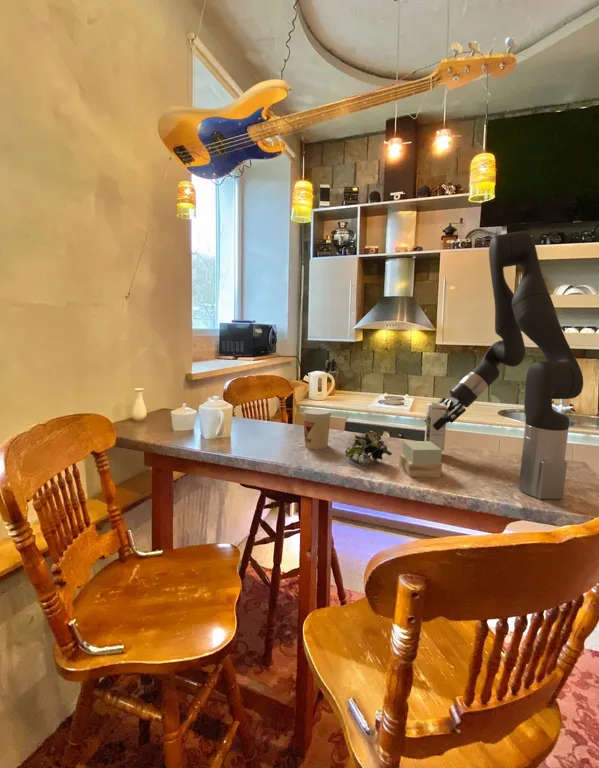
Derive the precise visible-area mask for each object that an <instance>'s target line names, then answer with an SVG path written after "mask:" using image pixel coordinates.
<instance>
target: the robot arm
mask: <svg viewBox="0 0 599 768" xmlns="http://www.w3.org/2000/svg"><path fill="white" fill-rule="evenodd" d="M488 259H489V261H488V262H489V270H490V277H491V285H492V292H493V299H494V310H495V311H494V331H495V334H496V335H497V336H498V337H500V338H501V340H498V341H496V342H494V343H492V345H491V346H490V347H489V348H488V350H487V351H486V352H485V354H484V355H483V357H482V359H481V361H480V363H478V364H477V366H475V368H473V369H472V370H471V371H469V373H468V374H466V375H464V377H462V378H461V380H459V381H458V382H457V383H456V384H455V385H454V386H452V388H450V390H449V394H450V396H449V397H448V398H445V397H442V398H441V399H439V401H438V402H437V403H443V404H445V405H446V406H447V410H446V412H445V413H444V414H443V416H442V418H440V419H439V420H438V421H436V422H435V423H434V424H433V427H434V428H435V429H436V430H439V429H440V428H441V427H442V426H443V425H444V424H446V425H447V423H451V424H452V423H453V422H455V421H456V420H457V419H458V418H459V417H461V416H462V415H463V414H464V413H465V412H466V411H467V408H469V407H470V406H471V405H473V403H475V401H476V400H478V398H479V397H480V396H481V395H483V393H485V391H486V390H487V389H488V388H489V387H490V386H491V385H492V384H493V383H495V381H496V380H497V379H498V378H499V377H500V370H499V368H498V366H499V365H501V364H502V365H505V366H506V367H507V366H508V367H513V368H514V367H517V366H519V365H521V364H522V363H523V361H524V359H525V356H526V345H525V342H524V337H523V334H524V335H525V336H526V337H527V338H528V339H530V341H532V342H533V343H534V344H535V345H536V346H537V347H538V348H539V349H540V350H541V352H542V353H543V355H544V356H545V357H544V358H546V360H547V361H546V360H545V361H543V360H541V361H540V360H539V361H536V362H535V361H534V362H533V363H532V364H531V365H530V366H529V368H528V370H527V373H526V377H525V383H524V385H525V386H524V387H525V388H524V405H523V406H524V408H523V410H524V415H525V422H524V423H525V425H524V433H523V443H522V451H521V459H520V460H521V461H520V469H519V470H520V471H519V481H518V489H519V490H520V491H521V492H522V493H524V494H526V495H529V496H532V497H535V498H536V499H538V500H563V499H564V494H565V485H566V476H567V468H568V467H567V466H568V462H567V460H566V453H567V445H568V439H569V438H568V436H569V435H568V434H569V428H570V418H569V417H568V416H567V415H566V414H563V413H560V412H558V411H556V410H555V409H553V400H570V399H575V398H578V396H580V395H581V393H582V391H583V389H584V376H583V372H582V370H581V369H582V368H581V367H580V365H579V362H578V360H577V358H576V356H575V354H574V353H573V351H572V349H571V347H570V345H569V343H568V341H567V339H566V336H565V333H564V331H563V328H562V326H561V323H560V321H559V318H558V315H557V312H556V310H555V309H556V308H555V306H554V303H553V299H552V297H551V295H550V292H549V290H548V287H547V284H546V282H545V278H544V276H543V273H542V269H541V265H540V262H539V261H540V260H539V257H538V253H537V247H536V245H535V241H534V238H533V236H532V234H531V232H529V231H525V230H523V231H515V232H508V233H502V234H496V235H495V236H493V237H492V238H491V239H490V242H489V246H488ZM512 266H513V267H514V266H521V268H522V277H521V279H520V281H519V284H518V285H517V288H516V289H515V291H514V292H513V291H512V289H511V288H510V286H509V284H508V283H507V280H506V278H505V273H504V268H506V267H512ZM423 421H424V422H425V423H426V418H425V419H424V420H423Z"/></svg>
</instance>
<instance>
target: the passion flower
mask: <svg viewBox="0 0 599 768" xmlns="http://www.w3.org/2000/svg"><path fill="white" fill-rule="evenodd" d="M354 437H355V438H354V443H353V444H352V447H349V446H348V447H347V449H346V450H345V451H344V453H345V457H346V458H349V459H352V458H353V457H354V456H355V455H356V461H357V462H359V463H360V457H361V456H362V457H363V458H362V460H363V463H362V465H361V467H364V465H365V464H366V462H367V461H368V460H369V459H370V458H372V459H373V460H374V461H377V460H381V461H382V460H383V454H386V455H387V456H392V452H391V451H390V450H388V446H387V444H386V445H385V441H384V440H383V439H382V436H381V435H380V434H379V433H378V434H377V432H366V433H365V434H362V435H357V434H355V435H354Z"/></svg>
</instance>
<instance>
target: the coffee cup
mask: <svg viewBox="0 0 599 768" xmlns="http://www.w3.org/2000/svg"><path fill="white" fill-rule="evenodd" d="M302 415H303V432H304V433H303V435H304V446H305V447H306V448H307V449H311V450H323V449H326V448H328V446H329V445H328V444H329V435H330V434H329V433H330V427H331V425H330V424H331V416H332V413H331V411H330V410H329V409H321V408H311V409H310V408H309V409H308V408H307V409H305V410H304V411H303V413H302Z"/></svg>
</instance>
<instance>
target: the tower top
mask: <svg viewBox="0 0 599 768" xmlns="http://www.w3.org/2000/svg"><path fill="white" fill-rule="evenodd" d="M442 452H443V451H442V450H441V449H440V448H439V447H437V446H436V445H434V444H433V443H432V442H430V441H425V440H422V441H419V440H417V441H416V440H415V441H414V440H413V441H411V440H407V441H405V440H403V443H402V454H403V455H404V456H405V457H406V458H407V459H408V460H409V461H410V462H411V463H412V464H442Z"/></svg>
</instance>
